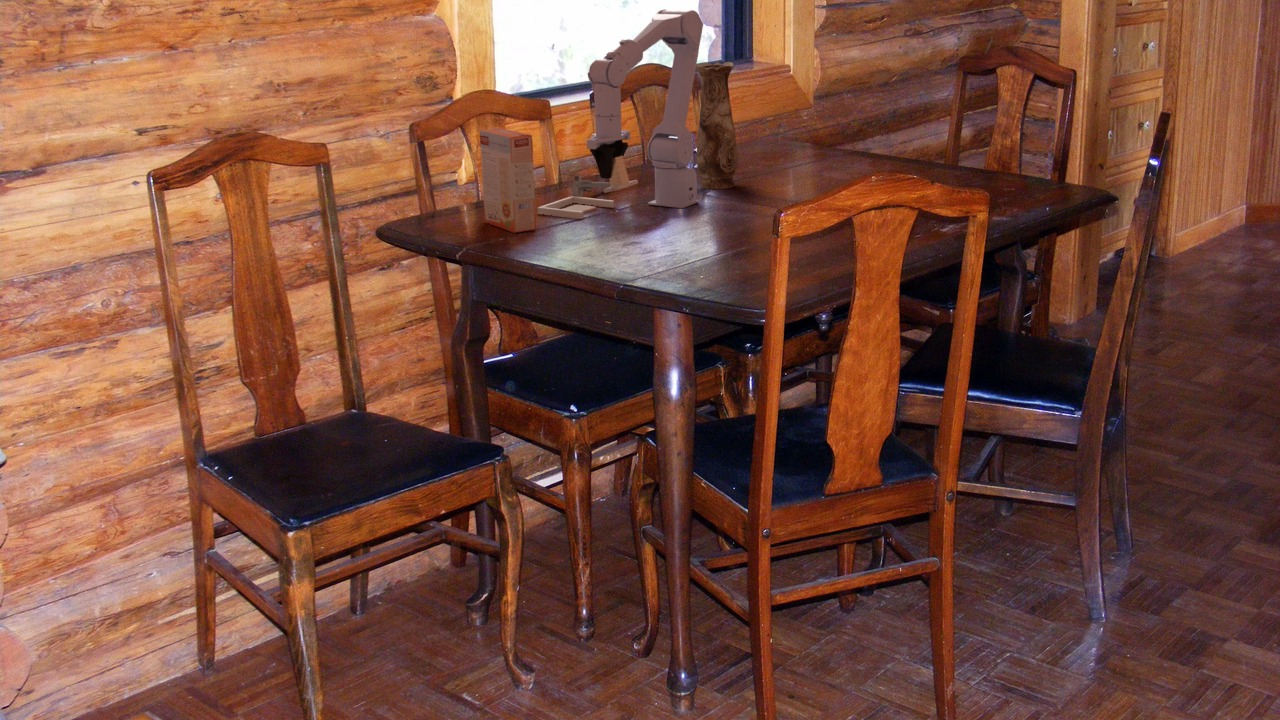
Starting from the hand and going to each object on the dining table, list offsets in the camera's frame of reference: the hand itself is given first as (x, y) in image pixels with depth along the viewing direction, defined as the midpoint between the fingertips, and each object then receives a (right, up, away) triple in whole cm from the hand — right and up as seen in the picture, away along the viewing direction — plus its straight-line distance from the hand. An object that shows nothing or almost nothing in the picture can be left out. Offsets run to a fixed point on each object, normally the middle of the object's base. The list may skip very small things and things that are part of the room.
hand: (609, 176), depth 281 cm
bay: (-8, -6, +13) cm, 16 cm away
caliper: (-4, 0, +30) cm, 31 cm away
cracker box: (-22, -11, -1) cm, 25 cm away
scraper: (+3, -3, -1) cm, 4 cm away
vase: (+26, +3, +36) cm, 45 cm away
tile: (-7, -7, +13) cm, 16 cm away
